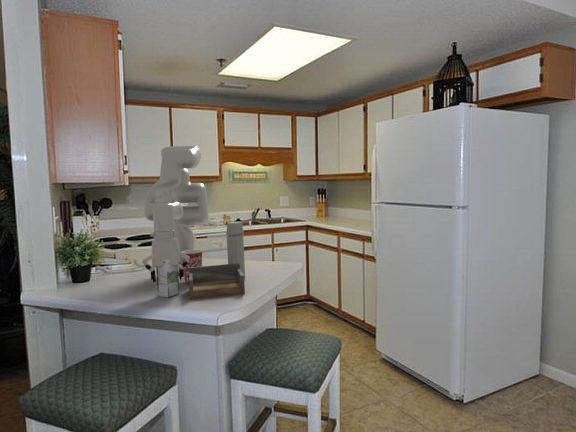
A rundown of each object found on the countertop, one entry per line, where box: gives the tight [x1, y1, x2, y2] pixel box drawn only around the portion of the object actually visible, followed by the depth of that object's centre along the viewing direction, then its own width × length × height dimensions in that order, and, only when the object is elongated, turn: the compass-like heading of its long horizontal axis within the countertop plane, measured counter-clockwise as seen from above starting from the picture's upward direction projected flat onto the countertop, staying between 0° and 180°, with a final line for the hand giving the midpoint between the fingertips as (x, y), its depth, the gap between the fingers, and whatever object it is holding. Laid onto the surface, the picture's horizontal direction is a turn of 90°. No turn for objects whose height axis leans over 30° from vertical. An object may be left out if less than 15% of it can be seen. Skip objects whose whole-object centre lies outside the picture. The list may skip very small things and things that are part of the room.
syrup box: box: [155, 260, 180, 298], centre depth 149 cm, size 6×6×14 cm
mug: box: [179, 249, 203, 285], centre depth 169 cm, size 13×9×14 cm
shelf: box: [188, 263, 246, 300], centre depth 152 cm, size 14×20×9 cm
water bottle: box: [225, 221, 246, 281], centre depth 169 cm, size 9×8×25 cm
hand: (167, 280), depth 149 cm, fingers open, 9 cm apart
